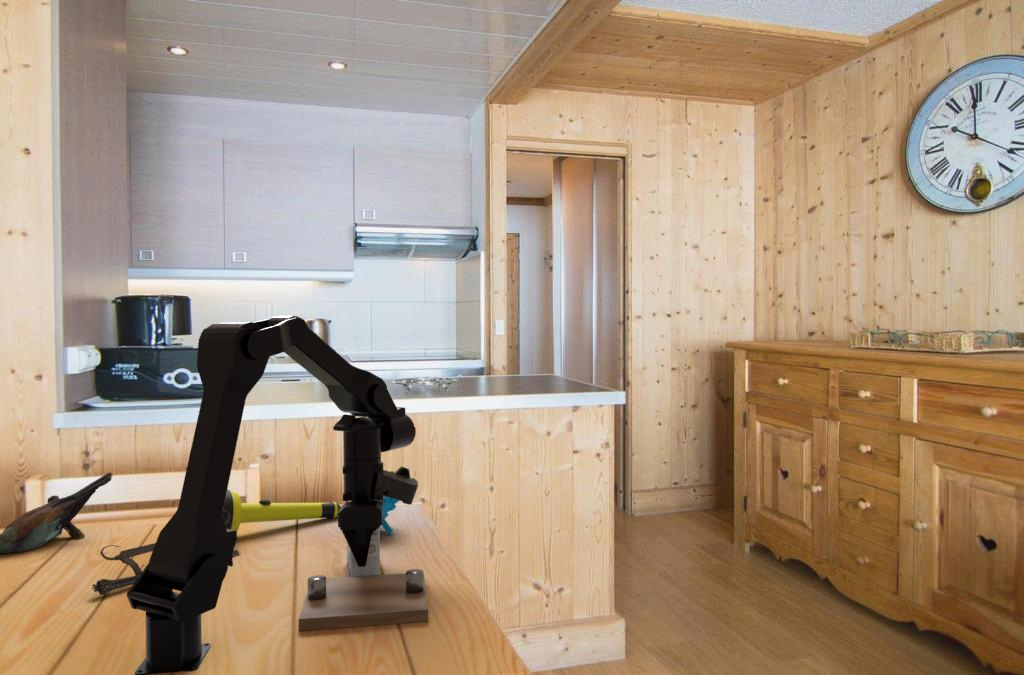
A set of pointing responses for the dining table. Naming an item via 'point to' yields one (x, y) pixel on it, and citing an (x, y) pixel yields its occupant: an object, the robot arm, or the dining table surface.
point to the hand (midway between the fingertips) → (363, 557)
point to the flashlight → (273, 511)
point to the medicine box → (372, 559)
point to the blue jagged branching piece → (386, 507)
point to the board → (364, 601)
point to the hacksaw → (124, 556)
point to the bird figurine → (48, 520)
